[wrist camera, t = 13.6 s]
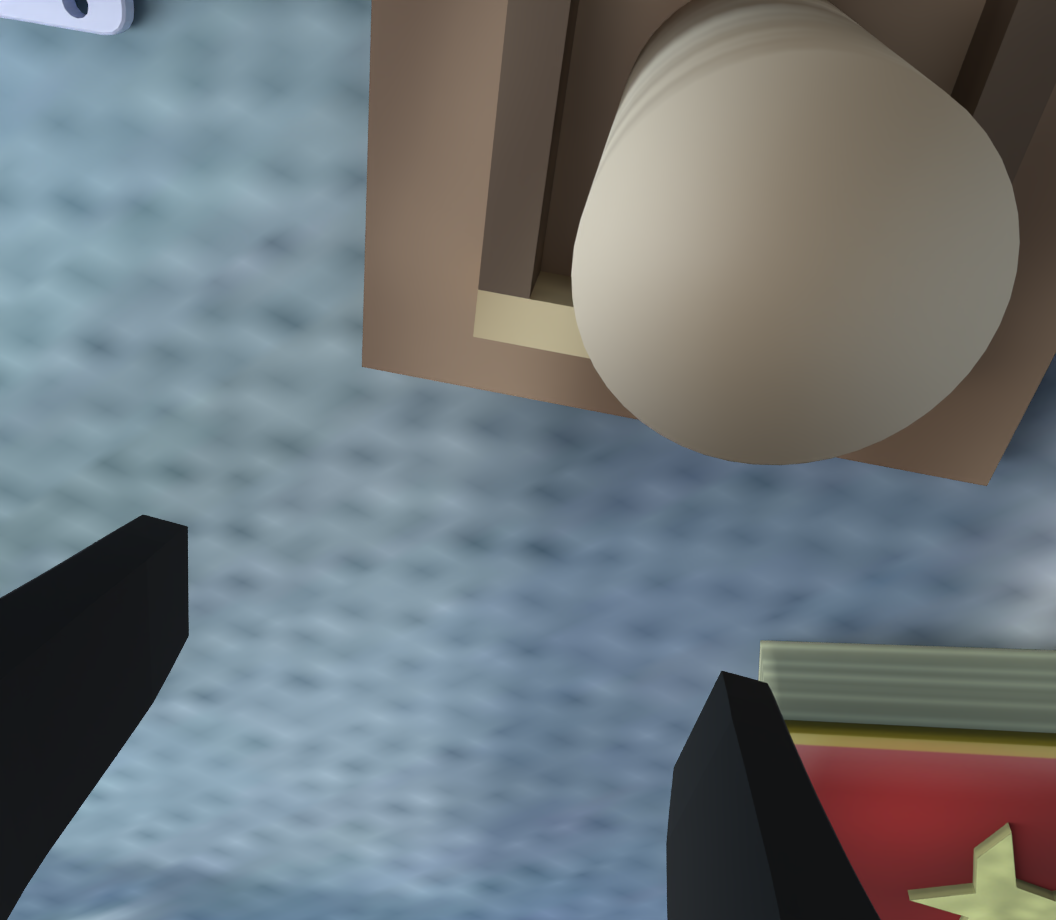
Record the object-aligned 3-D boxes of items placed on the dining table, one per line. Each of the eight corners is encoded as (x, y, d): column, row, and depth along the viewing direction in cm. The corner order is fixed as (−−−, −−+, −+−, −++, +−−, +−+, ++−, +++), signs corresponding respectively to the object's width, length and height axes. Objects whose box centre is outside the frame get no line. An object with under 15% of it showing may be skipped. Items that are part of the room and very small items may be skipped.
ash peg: (600, 220, 17) (544, 425, 11) (648, -41, 15) (613, 13, 8) (829, 262, 17) (917, 498, 10) (916, 4, 15) (1108, 96, 8)
